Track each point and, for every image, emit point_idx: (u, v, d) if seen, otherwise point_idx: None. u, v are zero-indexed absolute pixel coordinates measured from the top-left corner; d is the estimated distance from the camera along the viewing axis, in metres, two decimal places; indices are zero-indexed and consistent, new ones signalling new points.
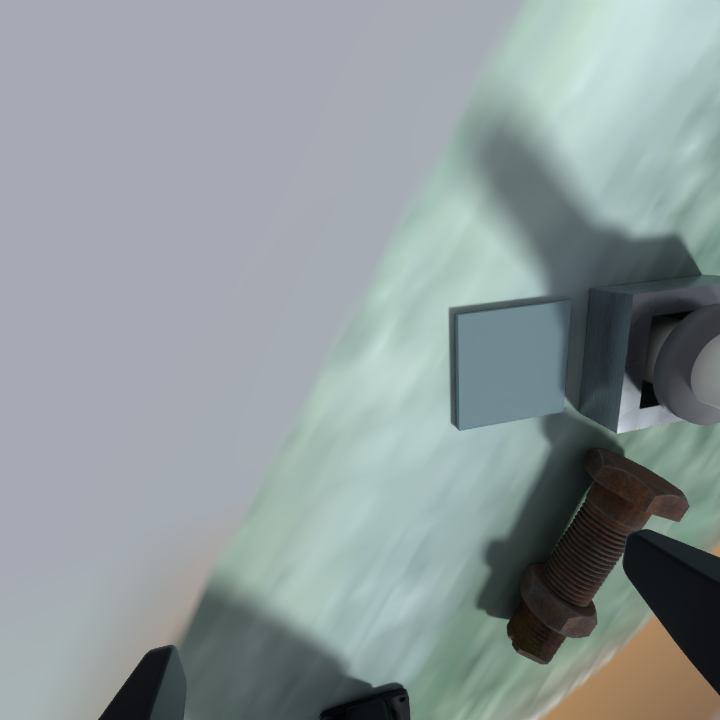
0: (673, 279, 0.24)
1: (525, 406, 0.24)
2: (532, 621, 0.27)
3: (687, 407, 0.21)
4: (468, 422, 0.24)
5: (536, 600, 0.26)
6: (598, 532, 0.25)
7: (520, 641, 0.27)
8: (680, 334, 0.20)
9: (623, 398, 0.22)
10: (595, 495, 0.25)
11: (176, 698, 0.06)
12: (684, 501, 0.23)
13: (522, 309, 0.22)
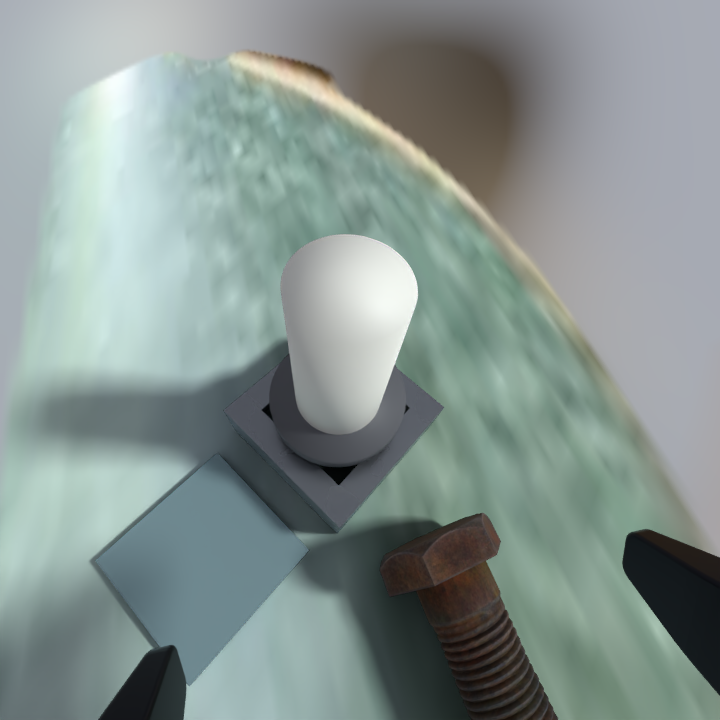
0: None
1: (255, 583, 0.19)
2: None
3: (340, 449, 0.17)
4: (194, 664, 0.17)
5: None
6: (459, 659, 0.16)
7: None
8: None
9: (308, 491, 0.18)
10: (424, 609, 0.17)
11: (176, 698, 0.06)
12: (469, 527, 0.16)
13: (168, 499, 0.20)
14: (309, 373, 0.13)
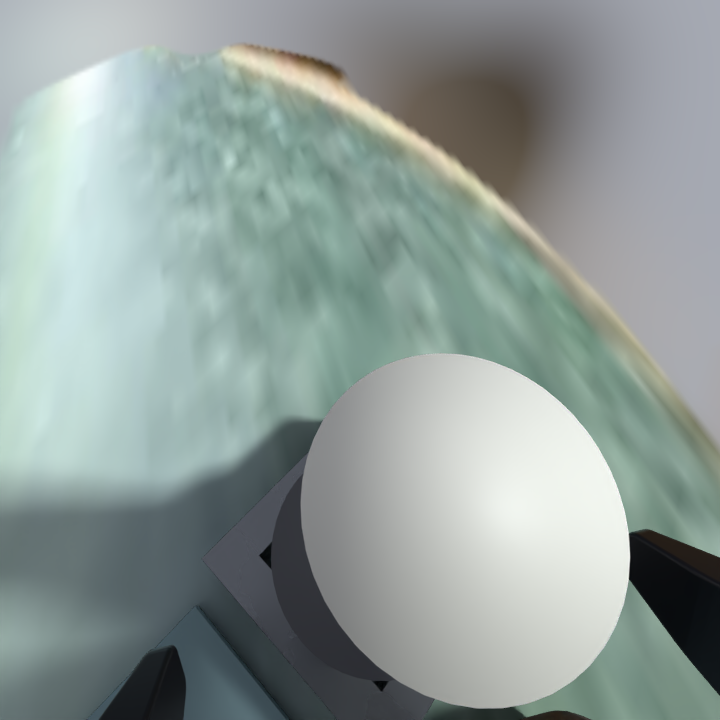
0: None
1: None
2: None
3: None
4: None
5: None
6: None
7: None
8: None
9: (334, 705, 0.11)
10: None
11: (176, 698, 0.06)
12: None
13: None
14: None
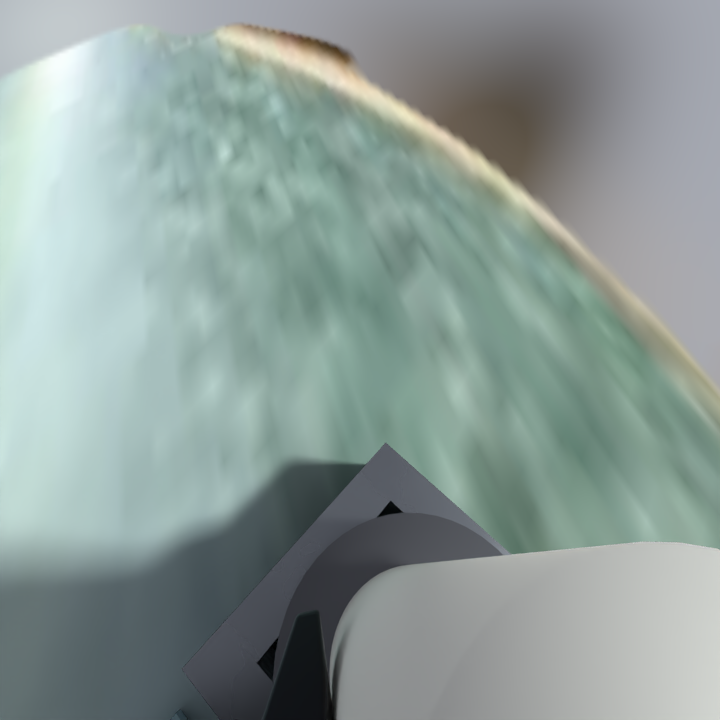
0: None
1: None
2: None
3: None
4: None
5: None
6: None
7: None
8: None
9: None
10: None
11: None
12: None
13: None
14: None
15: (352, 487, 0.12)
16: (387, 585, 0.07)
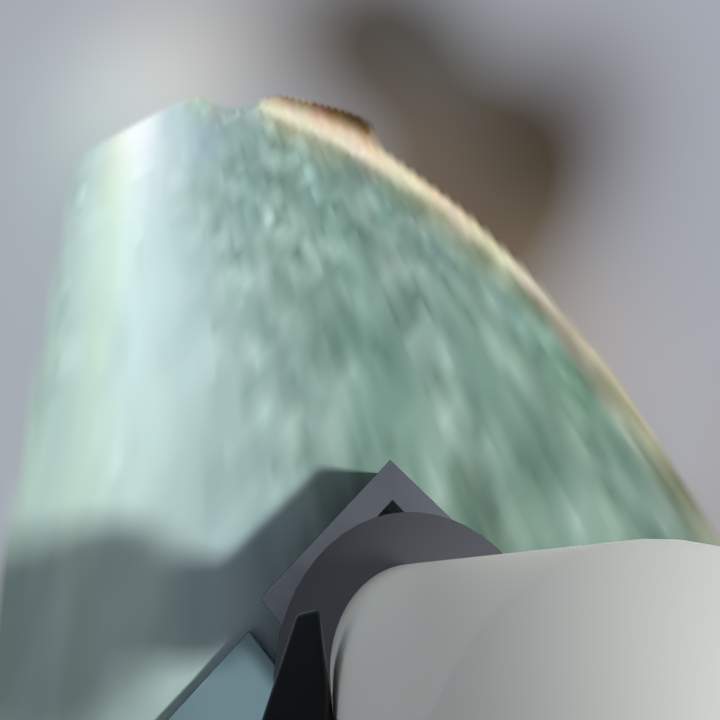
0: None
1: None
2: None
3: None
4: None
5: None
6: None
7: None
8: None
9: None
10: None
11: None
12: None
13: (189, 701, 0.16)
14: None
15: (367, 489, 0.18)
16: (388, 584, 0.07)
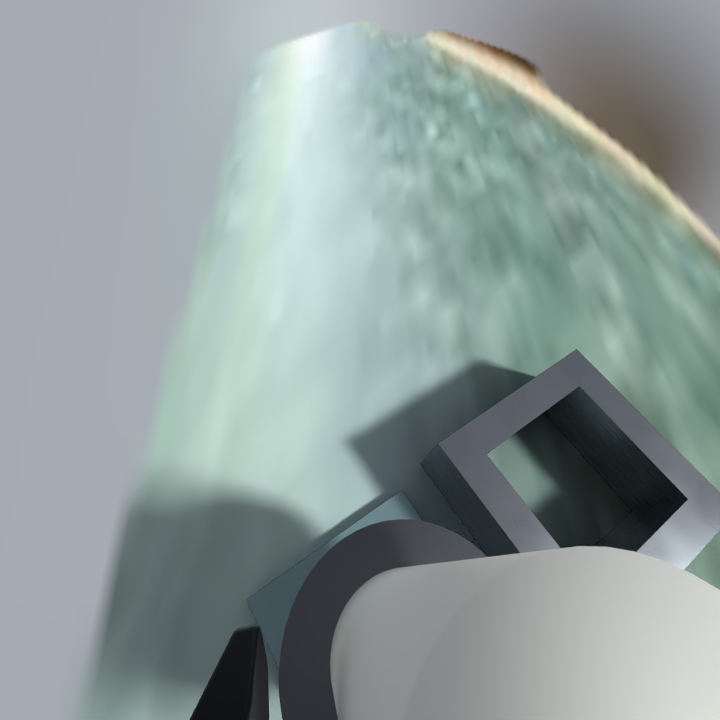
0: None
1: None
2: None
3: None
4: None
5: None
6: None
7: None
8: None
9: None
10: None
11: (264, 675, 0.07)
12: None
13: (339, 538, 0.15)
14: None
15: (551, 371, 0.17)
16: (384, 584, 0.07)
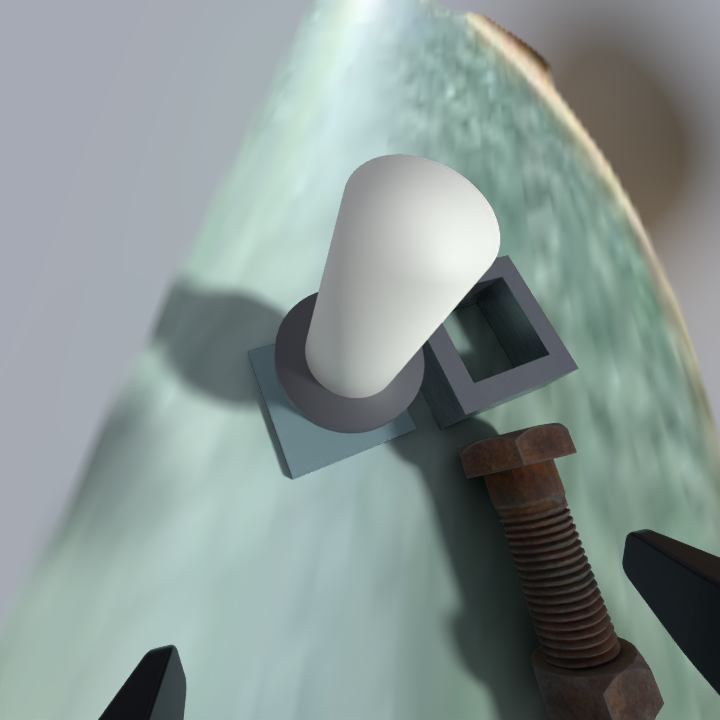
0: None
1: None
2: None
3: (344, 413, 0.15)
4: (301, 465, 0.19)
5: (558, 704, 0.16)
6: (526, 535, 0.18)
7: None
8: None
9: (448, 375, 0.20)
10: (493, 495, 0.19)
11: (176, 698, 0.06)
12: (554, 426, 0.18)
13: None
14: (344, 314, 0.11)
15: None
16: None
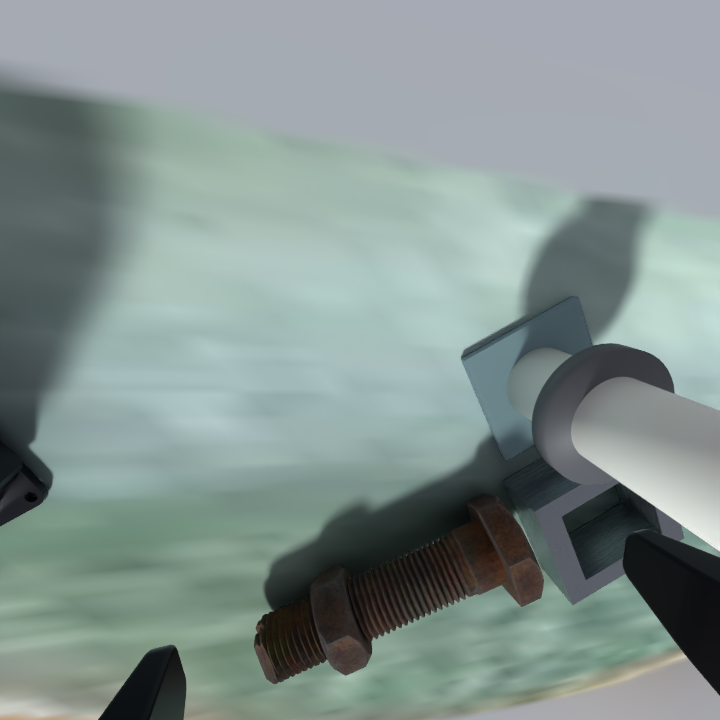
0: None
1: (504, 418, 0.22)
2: (300, 621, 0.21)
3: (558, 422, 0.17)
4: (475, 366, 0.21)
5: (326, 597, 0.20)
6: (442, 566, 0.21)
7: (269, 636, 0.20)
8: (614, 346, 0.17)
9: (569, 493, 0.21)
10: (463, 532, 0.22)
11: (176, 698, 0.06)
12: (542, 587, 0.20)
13: None
14: None
15: None
16: None
